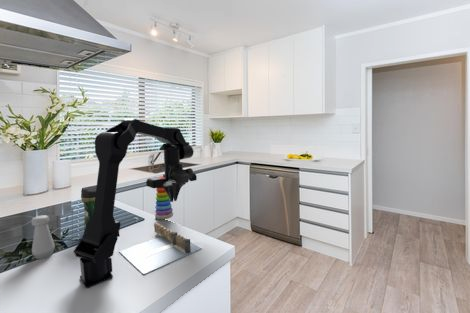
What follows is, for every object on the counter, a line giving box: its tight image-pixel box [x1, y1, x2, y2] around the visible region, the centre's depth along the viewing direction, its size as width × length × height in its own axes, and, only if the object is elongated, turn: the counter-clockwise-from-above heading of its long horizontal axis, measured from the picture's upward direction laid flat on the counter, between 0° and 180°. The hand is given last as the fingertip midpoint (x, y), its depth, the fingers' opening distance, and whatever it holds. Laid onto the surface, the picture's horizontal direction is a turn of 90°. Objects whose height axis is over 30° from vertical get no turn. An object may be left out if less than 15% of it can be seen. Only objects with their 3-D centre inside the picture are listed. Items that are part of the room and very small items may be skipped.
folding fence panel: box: [153, 222, 174, 242], centre depth 89 cm, size 12×1×3 cm, turn 46°
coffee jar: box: [80, 184, 97, 232], centre depth 94 cm, size 10×8×19 cm
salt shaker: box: [31, 214, 56, 260], centre depth 77 cm, size 6×6×13 cm
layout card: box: [118, 235, 202, 276], centre depth 81 cm, size 20×18×1 cm
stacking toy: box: [154, 176, 174, 220], centre depth 110 cm, size 8×8×19 cm
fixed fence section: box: [172, 231, 191, 253], centre depth 82 cm, size 2×9×4 cm, turn 45°
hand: (173, 201), depth 94 cm, fingers closed
